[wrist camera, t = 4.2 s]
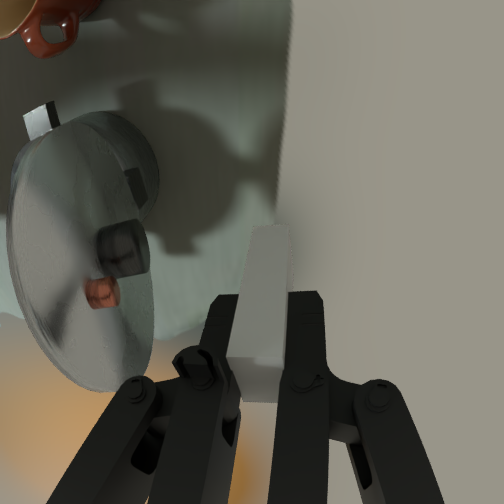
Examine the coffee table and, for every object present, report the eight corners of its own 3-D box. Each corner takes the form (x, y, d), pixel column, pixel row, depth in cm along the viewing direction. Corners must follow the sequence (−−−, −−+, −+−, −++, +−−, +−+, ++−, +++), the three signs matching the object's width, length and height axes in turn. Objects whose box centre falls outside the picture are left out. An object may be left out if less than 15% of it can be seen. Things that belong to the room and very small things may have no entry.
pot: (86, 247, 37) (55, 287, 31) (36, 112, 26) (-13, 136, 20) (188, 240, 34) (165, 289, 28) (144, 69, 23) (97, 79, 17)
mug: (43, -11, 17) (-26, -9, 9) (106, -58, 14) (39, -78, 6) (72, 69, 23) (0, 91, 15) (139, 26, 21) (70, 24, 13)
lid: (131, 438, 14) (180, 436, 14) (-52, 197, 5) (8, 162, 6) (151, 273, 27) (183, 267, 27) (95, 107, 18) (133, 95, 18)
